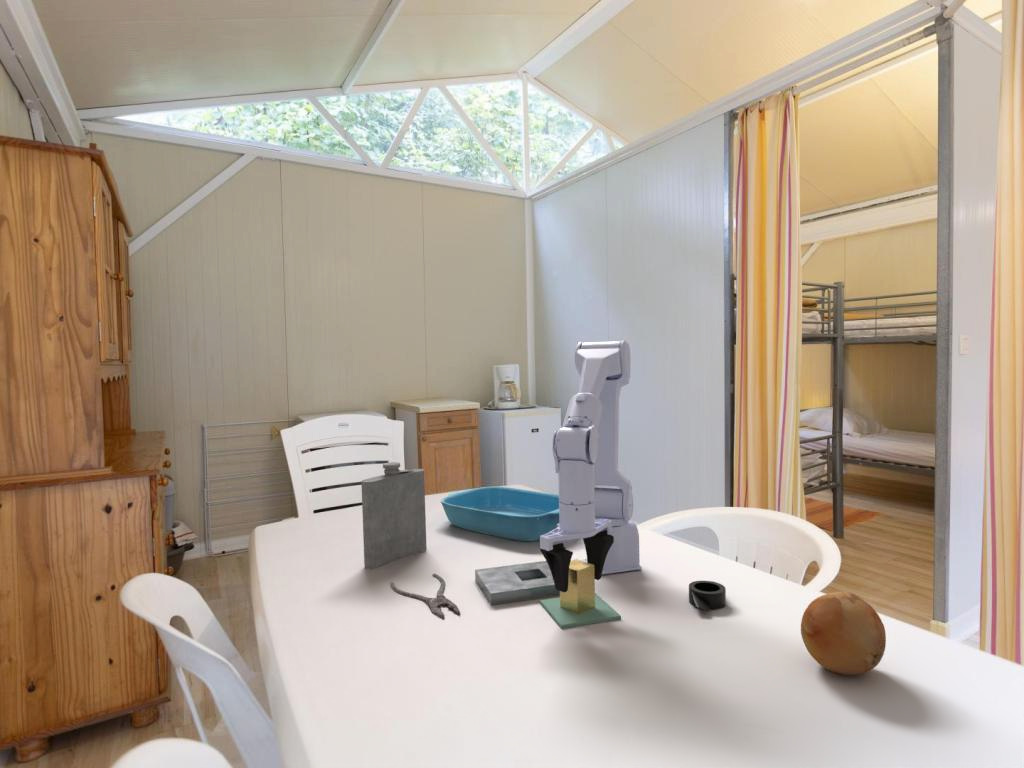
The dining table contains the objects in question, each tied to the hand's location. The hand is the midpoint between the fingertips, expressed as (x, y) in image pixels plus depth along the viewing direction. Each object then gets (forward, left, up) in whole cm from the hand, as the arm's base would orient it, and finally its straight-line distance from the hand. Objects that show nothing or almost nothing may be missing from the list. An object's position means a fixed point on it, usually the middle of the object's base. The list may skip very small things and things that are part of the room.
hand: (578, 584), depth 97 cm
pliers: (+21, -15, -5) cm, 26 cm away
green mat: (0, 0, -4) cm, 4 cm away
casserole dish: (-3, -52, -5) cm, 52 cm away
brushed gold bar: (0, 0, -4) cm, 4 cm away
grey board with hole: (+4, -13, -4) cm, 14 cm away
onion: (-25, +28, -5) cm, 38 cm away
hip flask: (+26, -38, -5) cm, 46 cm away
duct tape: (-21, +4, -5) cm, 22 cm away
